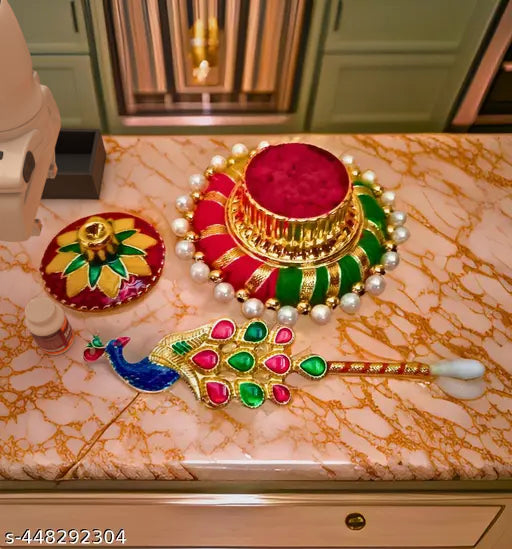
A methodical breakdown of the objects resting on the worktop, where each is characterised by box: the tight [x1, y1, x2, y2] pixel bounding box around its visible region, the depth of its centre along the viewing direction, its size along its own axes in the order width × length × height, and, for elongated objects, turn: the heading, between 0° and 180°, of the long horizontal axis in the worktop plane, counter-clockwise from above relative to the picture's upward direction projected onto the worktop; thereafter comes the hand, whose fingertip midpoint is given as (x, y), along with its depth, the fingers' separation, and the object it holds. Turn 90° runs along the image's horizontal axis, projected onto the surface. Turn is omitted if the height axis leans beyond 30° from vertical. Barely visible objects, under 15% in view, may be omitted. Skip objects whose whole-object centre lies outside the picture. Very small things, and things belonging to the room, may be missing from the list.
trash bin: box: [40, 127, 107, 200], centre depth 118 cm, size 13×13×7 cm
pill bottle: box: [24, 296, 75, 356], centre depth 96 cm, size 6×6×11 cm
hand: (42, 202), depth 75 cm, fingers open, 8 cm apart
